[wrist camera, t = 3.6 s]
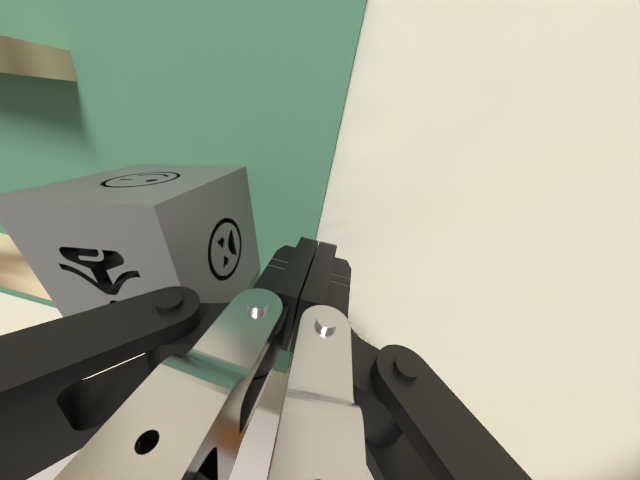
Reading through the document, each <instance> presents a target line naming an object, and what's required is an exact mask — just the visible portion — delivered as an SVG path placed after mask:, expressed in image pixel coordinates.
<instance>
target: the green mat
mask: <svg viewBox="0 0 640 480" xmlns="http://www.w3.org/2000/svg"><path fill="white" fill-rule="evenodd" d="M366 2H367V0H0V35H3V36H8V37H12V38H17V39H21V40H26V41H30V42H35V43H39V44H43V45H48V46H52V47H57V48H61V49H66V50H69V51H70V55H71V59H72V63H73V67H74V71H75V75H76V79H77V82H76V81H68V80H59V79H51V78H43V77H34V76H26V75H17V74H9V73H1V72H0V194H3V193H8V192H12V191H17V190H21V189H26V188H31V187H35V186H40V185H45V184H49V183H54V182H59V181H63V180H68V179H73V178H77V177H82V176H87V175H91V174H96V173H101V172H105V171H110V170H115V169H119V168H124V167H128V166H133V165H138V164H160V165H206V166H246V170H247V177H248V184H249V191H250V197H251V204H252V211H253V218H254V225H255V232H256V239H257V246H258V253H259V260H260V267H261V268H260V269H259V271H258V272H257V274H256V275H255V277H254V278H253V280H252V281H251V283H250V284H249V286H248V287H247V289H246V290H249V289H252V288H253V286H254V285H255V283H256V282H257V280H258V279H259V277H260V276H261V274H262V272H263V271H264V269H265V268H266V266H267V265H268V263H269V262H270V260H271V259H272V257H273V255H274V254H275V252H276V251H277V250H278V249H280V248H281V247H283V246H285V245H288V246H292V247H296V246H297V244H298V242H299V240H300V238H301V237H305V238H309V239H313V240H316V235H317V231H318V226H319V221H320V217H321V212H322V207H323V203H324V198H325V193H326V189H327V184H328V179H329V175H330V170H331V165H332V161H333V156H334V151H335V147H336V142H337V137H338V133H339V128H340V123H341V119H342V114H343V109H344V105H345V100H346V95H347V91H348V86H349V81H350V77H351V72H352V67H353V63H354V58H355V53H356V49H357V44H358V39H359V35H360V30H361V25H362V21H363V16H364V11H365V7H366ZM0 233H2V234H6V235H8V233H7V232H6V230H5V229H4V227H3V226H2V224H1V223H0ZM246 290H245V291H246ZM0 292H2V293H6V294H9V295H13V296H16V297H20V298H23V299H27V300H30V301H34V302H37V303H41V304H44V305H48V306H51V307H55V308H57V307H56V305H55V304H54V302H53V301H51V300H48V299H44V298H41V297H37V296H34V295H30V294H26V293H23V292H19V291H16V290H12V289H9V288H5V287H2V286H0ZM292 336H293V335H292ZM291 341H292V338H291ZM291 341H290V344H289V347H288V350H287V351H284V350H281V349H280V351H279V354H278V357H277V360H276V363H275V365H274V366H273V369H274V370H277V371H281V372H284V373H287V370H288V366H289V361H290V356H291V352H289V350H290V345H291Z"/></svg>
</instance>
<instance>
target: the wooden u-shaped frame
mask: <svg viewBox="0 0 640 480" xmlns="http://www.w3.org/2000/svg"><path fill="white" fill-rule="evenodd" d="M0 72H1V73H9V74H17V75H26V76H34V77H43V78H51V79H59V80H68V81H76V82H77V79H76V75H75V71H74V67H73V63H72V59H71V55H70V51H69V50H66V49H61V48H57V47H52V46H48V45H43V44H39V43H35V42H30V41H26V40H21V39H17V38H12V37H8V36H3V35H0ZM0 286H2V287H5V288H9V289H12V290H16V291H19V292H23V293H26V294H30V295H34V296H37V297H41V298H44V299H48V300H51V301H52V299H51V298H50V296H49V295H48V293H47V292H46V290H45V289H44V287H43V286H42V284H41V283H40V281H39V280H38V278H37V277H36V275H35V274H34V272H33V271H32V269H31V268H30V266H29V265H28V263H27V262H26V260H25V259H24V257H23V256H22V254H21V253H20V251H19V250H18V248H17V247H16V245H15V244H14V242H13V241H12V239H11V238H10V236H9V235H6V234H2V233H0Z"/></svg>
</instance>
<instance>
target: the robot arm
mask: <svg viewBox="0 0 640 480" xmlns="http://www.w3.org/2000/svg"><path fill="white" fill-rule="evenodd" d="M317 247H318V248H317ZM336 248H337V245H333V244H329V243H325V242H321V241H320V242H319V245H318V241H317V240H313V239H309V238H305V237H301V238H300V240H299V242H298V244H297V246H296V247H292V246H288V245H285V246H283V247H281V248H280V249H278V250H277V251H276V252H275V254H274V255H273V257H272V259H271V260H270V262H269V263H268V265H267V266H266V268H265V269H264V271H263V272H262V274H261V276H260V277H259V279H258V280H257V282H256V283H255V285H254V286H253V288H252V289H249V290H246V291H243V292H241V293H240V294H238V295H237V296H236V297H235V298H234V299H233V300H232V302H227V303H200V297H199V295H198V294H197V293H196V292H195V291H194V290H192V289H190V288H187V287H182V286H172V287H166V288H162V289H158V290H155V291H151V292H148V293H145V294H141V295H138V296H134V297H131V298H128V299H124V300H121V301H117V302H114V303H111V304H107V305H104V306H100V307H97V308H94V309H90V310H87V311H83V312H80V313H77V314H73V315H70V316H66V317H63V318H59V319H56V320H53V321H49V322H46V323H42V324H39V325H36V326H32V327H29V328H25V329H22V330H19V331H15V332H12V333H8V334H5V335H2V336H0V480H26V479H28V478H30V477H32V476H34V475H35V474H37V473H39V472H41V471H42V470H44V469H46V468H48V467H49V466H51V465H53V464H55V463H57V462H58V461H60V460H62V459H64V458H65V457H67V456H69V455H71V454H72V453H74V452H76V451H78V450H80V449H81V448H82V449H81V450H80V451H79V452H78V453H77V455H76V456H75V457H74V458H73V459H72V460H71V461H70V462H69V463H68V464H67V465H66V467H64V469H63V470H62V471H61V472H60V473H59V474H58V475H57V476H56V477H55V478H54V480H228V479H229V477H230V474H231V472H232V469H233V466H234V464H235V461H236V458H237V454H238V451H239V448H240V445H241V442H242V439H243V437H244V434H245V432H246V430H247V428H248V425H249V423H250V421H251V419H252V416H253V414H254V412H255V409H256V407H257V405H258V403H259V400H260V398H261V396H262V394H263V391H264V389H265V387H266V385H267V382H268V380H269V378H270V376H271V373H272V370H273V366H274V365H275V363H276V360H277V357H278V354H279V351H280V349H281V350H284V351H287V350H288V347H289V344H290V341H291V338H292V341H291V345H290V350H289V352H292V353H293V357H292V362H291V366H290V371H289V375H288V380H287V385H286V390H285V395H284V399H283V404H282V409H281V414H280V419H279V424H278V429H277V434H276V438H275V443H274V448H273V453H272V457H271V462H270V467H269V472H268V476H267V480H367V468H366V465H367V466H368V468H369V470H370V472H371V474H372V476H373V478H374V480H532V479H531V478H530V477H529V476H528V475H527V474H526V472H525V471H524V470H523V469H522V468H521V467H520V466H519V465H518V464H517V463H516V461H515V460H514V459H513V458H512V457H511V456H510V455H509V454H508V453H507V452H506V450H505V449H504V448H503V447H502V446H501V445H500V444H499V443H498V442H497V440H496V439H495V438H494V437H493V436H492V435H491V434H490V433H489V432H488V431H487V429H486V428H485V427H484V426H483V425H482V424H481V423H480V422H479V421H478V420H477V418H476V417H475V416H474V415H473V414H472V413H471V412H470V411H469V410H468V408H467V407H466V406H465V405H464V404H463V403H462V402H461V401H460V400H459V399H458V397H457V396H456V395H455V394H454V393H453V392H452V391H451V390H450V389H449V388H448V386H447V385H446V384H445V383H444V382H443V381H442V380H441V379H440V378H439V376H438V375H437V374H436V373H435V372H434V371H433V370H432V369H431V368H430V367H429V365H428V364H427V363H426V362H425V361H424V360H423V359H422V358H421V357H420V356H419V355H418V354H416V353H415V352H414V351H412V350H410V349H408V348H406V347H404V346H400V345H387V346H385V347H383V348H382V349H381V350H379V349H377V348H376V347H374V346H372V345H370V344H369V343H367V342H365V341H364V340H362V339H361V338H360V337H359V336H358V335H357V334H356V333H355V332H354V331H353V330H352V328H351V326H350V323H349V321H348V306H349V293H350V280H351V279H350V278H351V267H350V266H349V264H348V262H347V260H343V259H339V258H335V253H336ZM292 335H293V336H292ZM143 353H145V354H144V355H142V356H139V357H137V358H135V359H132V360H130V361H128V362H125V363H123V364H121V365H118V366H116V367H114V368H111V369H109V370H107V371H105V372H102V373H100V374H98V375H95V376H93V377H90V378H88V379H84V378H87V377H89V376H91V375H94V374H96V373H98V372H101V371H103V370H105V369H108V368H110V367H112V366H115V365H117V364H119V363H122V362H124V361H126V360H129V359H131V358H133V357H136V356H138V355H140V354H143ZM82 379H84V380H82Z"/></svg>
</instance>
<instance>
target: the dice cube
mask: <svg viewBox="0 0 640 480" xmlns="http://www.w3.org/2000/svg"><path fill="white" fill-rule="evenodd" d="M0 223H1V224H2V226H3V227H4V229H5V230H6V232H7V233H8V235H9V236H10V238H11V239H12V241H13V242H14V244H15V245H16V247H17V248H18V250H19V251H20V253H21V254H22V256H23V257H24V259H25V260H26V262H27V263H28V265H29V266H30V268H31V269H32V271H33V272H34V274H35V275H36V277H37V278H38V280H39V281H40V283H41V284H42V286H43V287H44V289H45V290H46V292H47V293H48V295H49V296H50V298H51V299H52V301H53V302H54V304H55V305H56V307H57V308H58V310H59V311H60V313H61V314H62V316H63V317H66V316H70V315H73V314H77V313H80V312H83V311H87V310H90V309H94V308H97V307H100V306H104V305H107V304H111V303H114V302H117V301H121V300H124V299H128V298H131V297H134V296H138V295H141V294H145V293H148V292H151V291H155V290H158V289H162V288H166V287H172V286H182V287H187V288H190V289H192V290H194V291H195V292H196V293H197V294H198V295H199V297H200V303H227V302H232V300H233V299H234V298H235V297H236V296H237V295H238V294H240V293H241V292H243V291H245V290H246V289H247V287H248V286H249V284H250V283H251V281H252V280H253V278H254V277H255V275H256V274H257V272H258V271H259V269H260V268H261V267H260V260H259V253H258V246H257V239H256V232H255V225H254V218H253V211H252V204H251V197H250V191H249V184H248V177H247V170H246V166H206V165H160V164H138V165H133V166H128V167H124V168H119V169H115V170H110V171H105V172H101V173H96V174H91V175H87V176H82V177H77V178H73V179H68V180H63V181H59V182H54V183H49V184H45V185H40V186H35V187H31V188H26V189H21V190H17V191H12V192H8V193H3V194H0Z"/></svg>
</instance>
